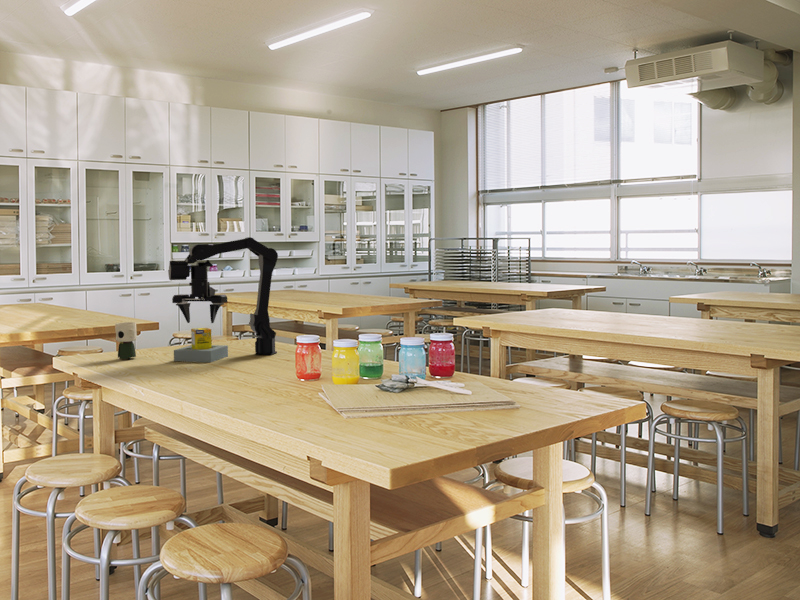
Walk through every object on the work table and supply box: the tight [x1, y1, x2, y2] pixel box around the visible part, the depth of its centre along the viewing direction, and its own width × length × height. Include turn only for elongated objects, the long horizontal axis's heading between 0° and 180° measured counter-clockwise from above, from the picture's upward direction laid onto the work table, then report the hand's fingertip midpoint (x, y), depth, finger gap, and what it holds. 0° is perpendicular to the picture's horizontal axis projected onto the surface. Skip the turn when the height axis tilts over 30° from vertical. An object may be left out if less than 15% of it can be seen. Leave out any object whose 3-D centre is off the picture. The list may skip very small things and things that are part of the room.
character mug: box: [114, 321, 138, 360], centre depth 256 cm, size 11×7×13 cm, turn 49°
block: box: [173, 344, 229, 363], centre depth 255 cm, size 14×14×4 cm
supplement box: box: [190, 327, 213, 350], centre depth 255 cm, size 6×6×11 cm
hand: (200, 322), depth 254 cm, fingers open, 9 cm apart
